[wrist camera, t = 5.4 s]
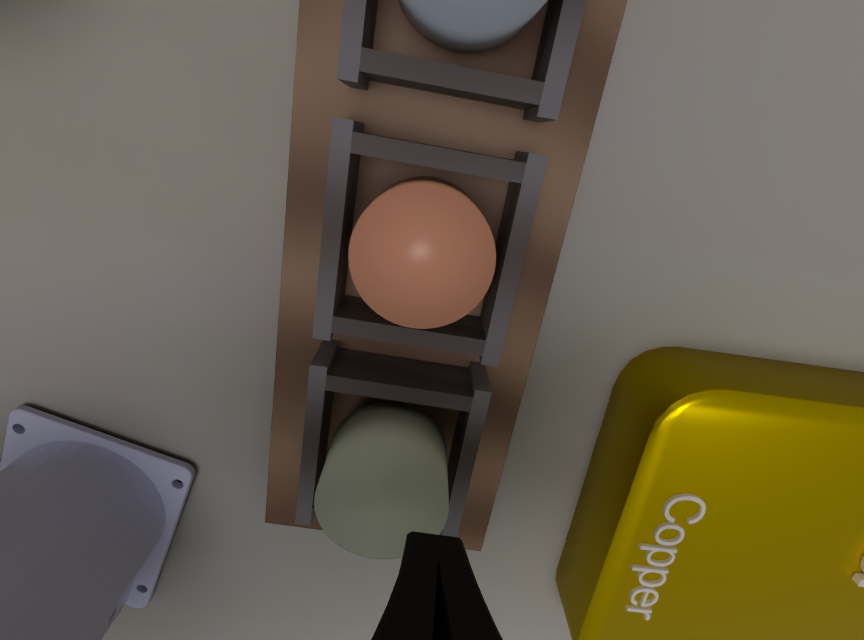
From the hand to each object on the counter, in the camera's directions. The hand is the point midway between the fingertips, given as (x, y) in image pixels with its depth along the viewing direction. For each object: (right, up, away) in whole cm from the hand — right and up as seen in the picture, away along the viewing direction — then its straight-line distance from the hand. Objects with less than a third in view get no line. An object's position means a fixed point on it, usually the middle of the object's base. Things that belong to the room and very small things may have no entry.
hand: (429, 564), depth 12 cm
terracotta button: (0, +9, +5) cm, 10 cm away
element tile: (+15, -2, +12) cm, 19 cm away
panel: (0, +10, +6) cm, 12 cm away
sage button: (-2, +1, +6) cm, 7 cm away
